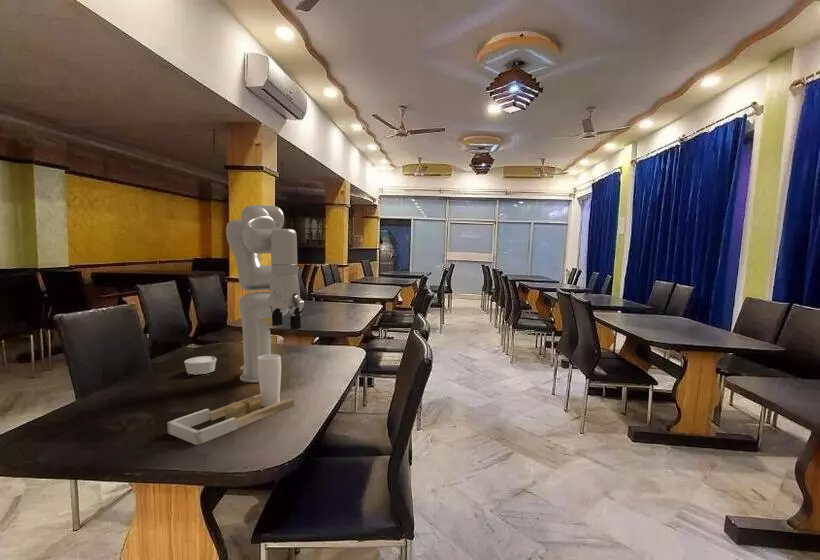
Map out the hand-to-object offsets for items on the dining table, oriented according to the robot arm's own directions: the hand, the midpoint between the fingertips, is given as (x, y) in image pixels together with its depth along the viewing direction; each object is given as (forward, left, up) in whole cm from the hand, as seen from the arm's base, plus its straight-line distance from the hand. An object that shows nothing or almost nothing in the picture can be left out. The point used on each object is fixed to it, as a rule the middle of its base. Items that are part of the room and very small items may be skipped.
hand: (286, 327), depth 131 cm
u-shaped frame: (-4, -26, -24) cm, 35 cm away
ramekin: (-56, +6, -24) cm, 61 cm away
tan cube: (-4, -16, -24) cm, 29 cm away
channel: (-4, -10, -24) cm, 26 cm away
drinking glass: (-4, -4, -24) cm, 25 cm away
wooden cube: (-4, -11, -24) cm, 26 cm away
